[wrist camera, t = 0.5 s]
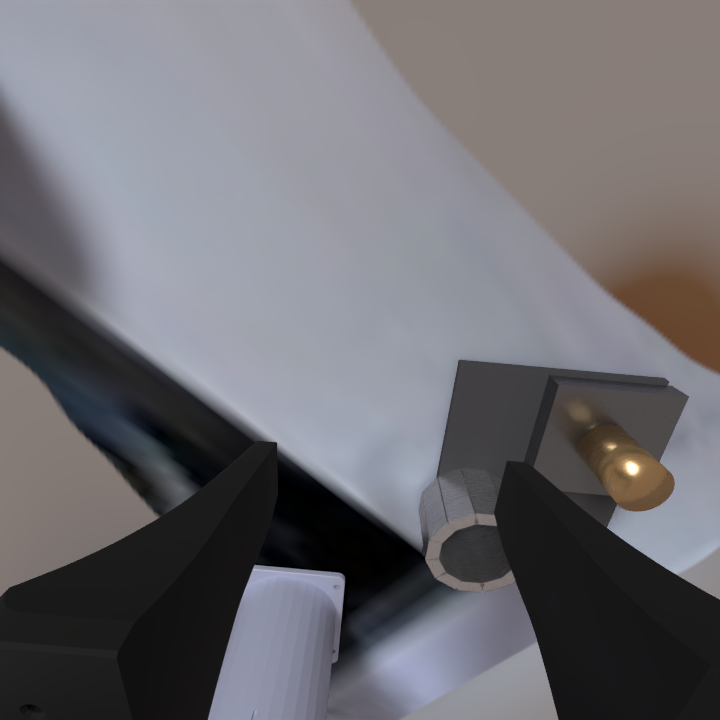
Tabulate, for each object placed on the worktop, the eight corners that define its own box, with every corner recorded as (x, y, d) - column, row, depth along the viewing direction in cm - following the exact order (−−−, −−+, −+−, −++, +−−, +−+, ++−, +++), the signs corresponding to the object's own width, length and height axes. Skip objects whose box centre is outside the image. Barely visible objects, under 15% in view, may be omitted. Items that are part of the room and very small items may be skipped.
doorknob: (629, 484, 23) (686, 548, 19) (519, 474, 23) (552, 536, 19) (672, 385, 21) (749, 434, 16) (549, 374, 21) (594, 420, 16)
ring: (500, 543, 25) (519, 595, 22) (414, 535, 25) (420, 586, 22) (520, 473, 23) (545, 519, 20) (427, 464, 23) (435, 509, 20)
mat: (585, 565, 26) (588, 571, 26) (422, 550, 26) (422, 555, 26) (664, 378, 21) (669, 381, 20) (459, 359, 21) (460, 362, 21)
